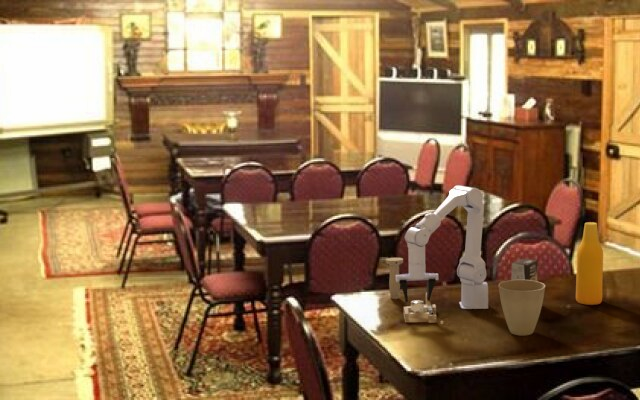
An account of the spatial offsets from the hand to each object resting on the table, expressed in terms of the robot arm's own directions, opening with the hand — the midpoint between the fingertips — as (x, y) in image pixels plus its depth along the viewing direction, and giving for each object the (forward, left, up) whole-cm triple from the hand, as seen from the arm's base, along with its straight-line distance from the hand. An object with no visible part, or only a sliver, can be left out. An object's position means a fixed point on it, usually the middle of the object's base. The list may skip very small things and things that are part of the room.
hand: (417, 300), depth 323 cm
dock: (-1, -2, -6) cm, 7 cm away
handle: (+7, -26, -7) cm, 28 cm away
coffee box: (-39, -15, -7) cm, 43 cm away
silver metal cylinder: (0, 0, -6) cm, 6 cm away
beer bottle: (-63, -18, -7) cm, 66 cm away
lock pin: (-5, -8, -5) cm, 11 cm away
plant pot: (-32, +17, -7) cm, 37 cm away
